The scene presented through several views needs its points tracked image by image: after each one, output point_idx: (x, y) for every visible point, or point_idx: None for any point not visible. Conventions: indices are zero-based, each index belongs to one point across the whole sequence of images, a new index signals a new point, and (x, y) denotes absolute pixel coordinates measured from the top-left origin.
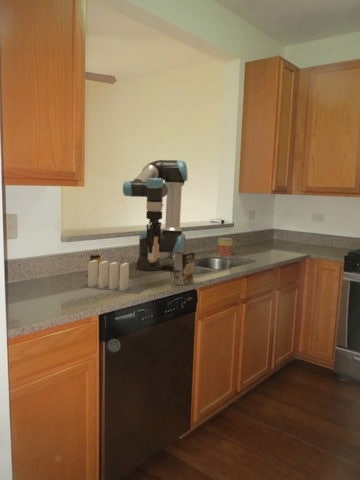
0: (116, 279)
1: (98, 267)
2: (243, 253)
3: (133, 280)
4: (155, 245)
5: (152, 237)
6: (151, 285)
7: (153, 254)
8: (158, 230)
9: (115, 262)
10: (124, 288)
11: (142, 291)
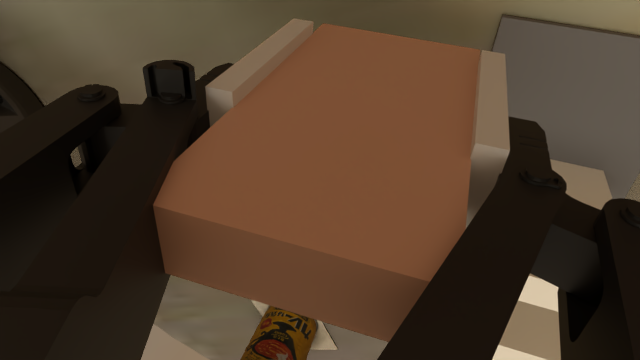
0: None
1: (284, 350)
2: None
3: None
4: (343, 129)
5: (507, 318)
6: (365, 12)
7: (497, 81)
8: (65, 321)
9: (499, 355)
10: (579, 170)
11: (614, 34)
